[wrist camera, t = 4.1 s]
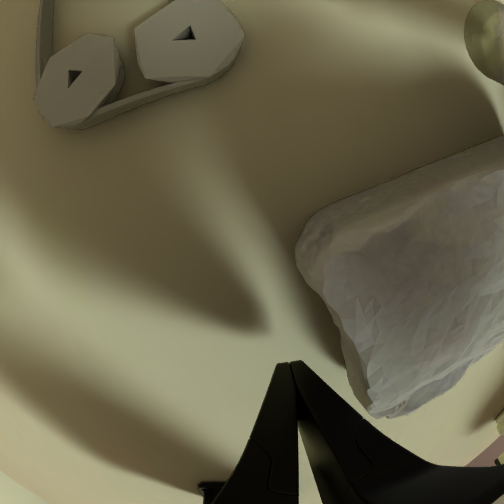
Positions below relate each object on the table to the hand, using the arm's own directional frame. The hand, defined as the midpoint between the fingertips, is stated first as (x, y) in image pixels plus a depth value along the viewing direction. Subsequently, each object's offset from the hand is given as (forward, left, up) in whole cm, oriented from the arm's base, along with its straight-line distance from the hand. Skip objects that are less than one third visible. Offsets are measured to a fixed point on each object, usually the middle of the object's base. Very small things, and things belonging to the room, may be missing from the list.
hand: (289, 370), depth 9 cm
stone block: (+7, +2, -2) cm, 8 cm away
